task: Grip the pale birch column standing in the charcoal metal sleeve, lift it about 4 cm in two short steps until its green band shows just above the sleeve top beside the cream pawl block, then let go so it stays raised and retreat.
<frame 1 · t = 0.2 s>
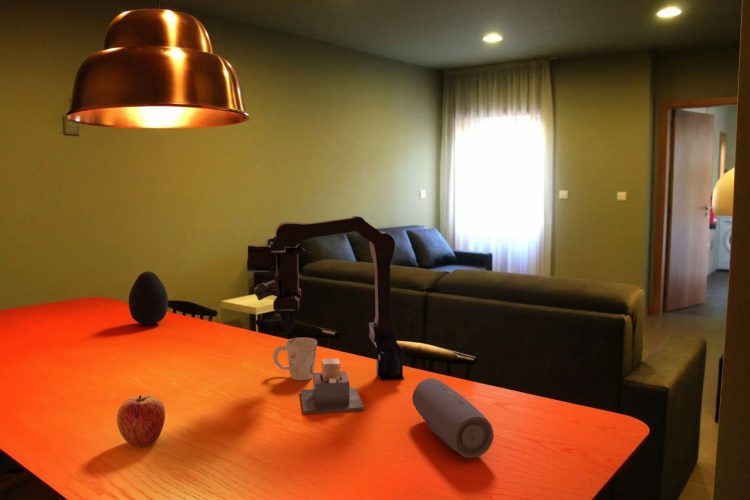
hand: (288, 329, 154), 14 cm above the table, fingers open, 9 cm apart
bluetooth speaker: (449, 440, 122), on the table
stand base: (330, 401, 142), on the table
egg: (149, 325, 218), on the table
mug: (294, 377, 161), on the table
apple: (142, 444, 119), on the table
column: (330, 379, 142), point 6 cm above the table, slide at 0.0 cm
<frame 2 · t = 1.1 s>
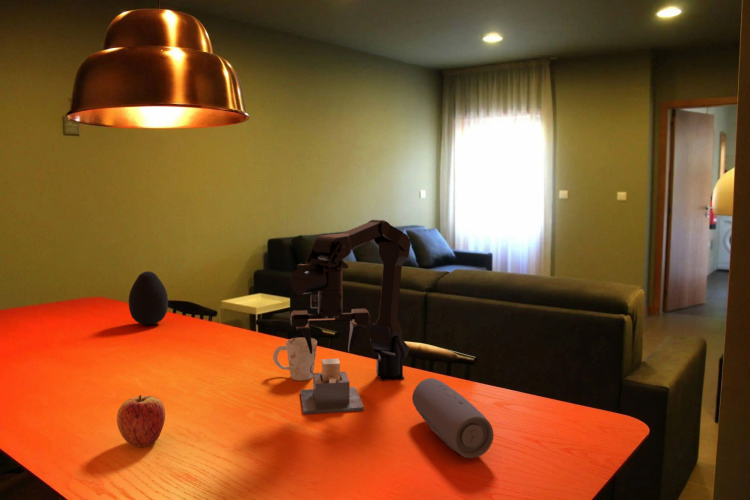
hand: (330, 352, 141), 12 cm above the table, fingers open, 9 cm apart
nothing on the table moved.
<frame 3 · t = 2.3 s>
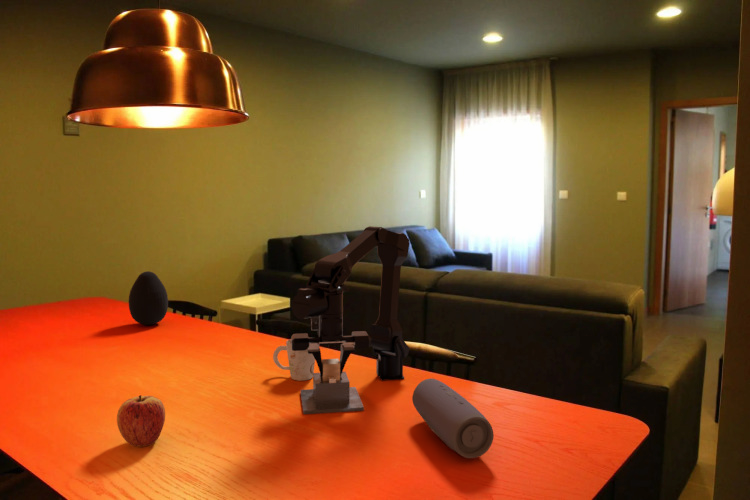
hand: (330, 375, 142), 7 cm above the table, fingers closed on column, 4 cm apart
column: (330, 379, 142), point 6 cm above the table, slide at 0.0 cm, touching gripper
everything else where it was.
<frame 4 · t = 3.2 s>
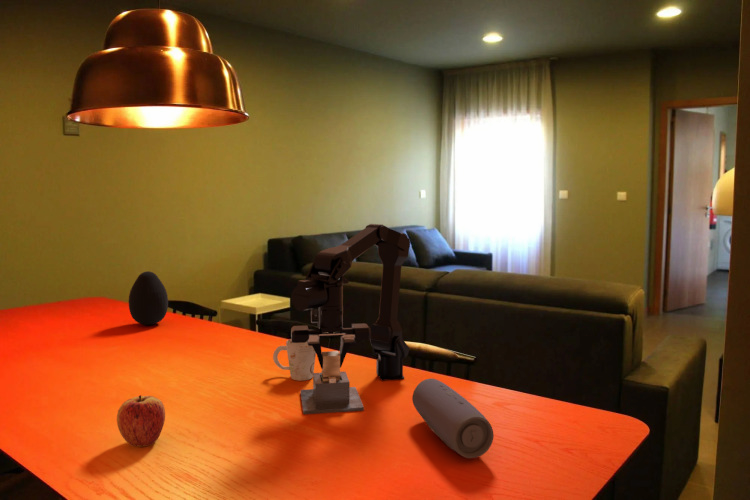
hand: (330, 367, 141), 8 cm above the table, fingers closed on column, 4 cm apart
column: (330, 371, 142), point 7 cm above the table, slide at 1.9 cm, touching gripper
everything else where it was.
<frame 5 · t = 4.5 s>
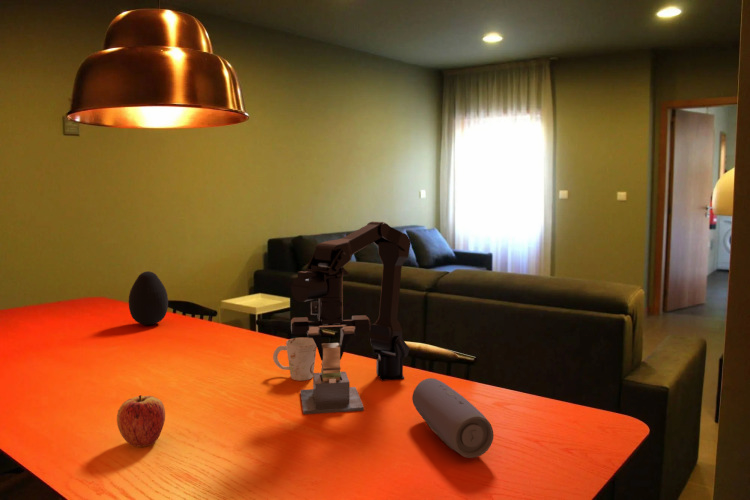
hand: (330, 359, 141), 10 cm above the table, fingers closed on column, 4 cm apart
column: (330, 363, 141), point 10 cm above the table, slide at 3.9 cm, touching gripper
everything else where it was.
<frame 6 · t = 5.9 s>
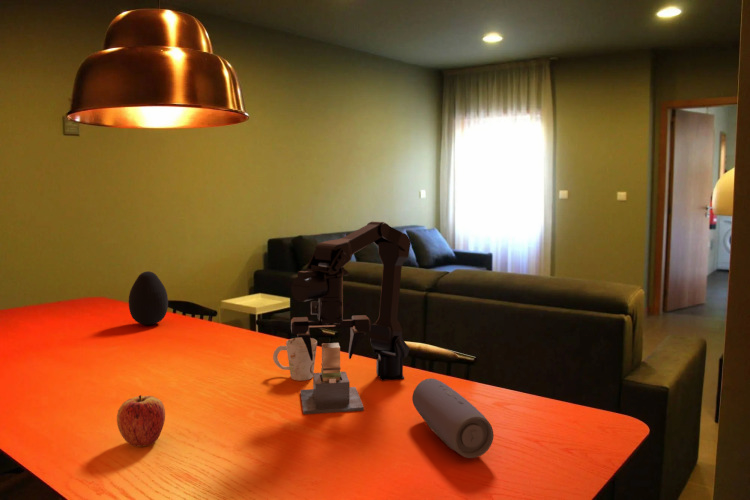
hand: (330, 359, 141), 10 cm above the table, fingers open, 9 cm apart
column: (330, 363, 141), point 10 cm above the table, slide at 3.9 cm
everything else where it was.
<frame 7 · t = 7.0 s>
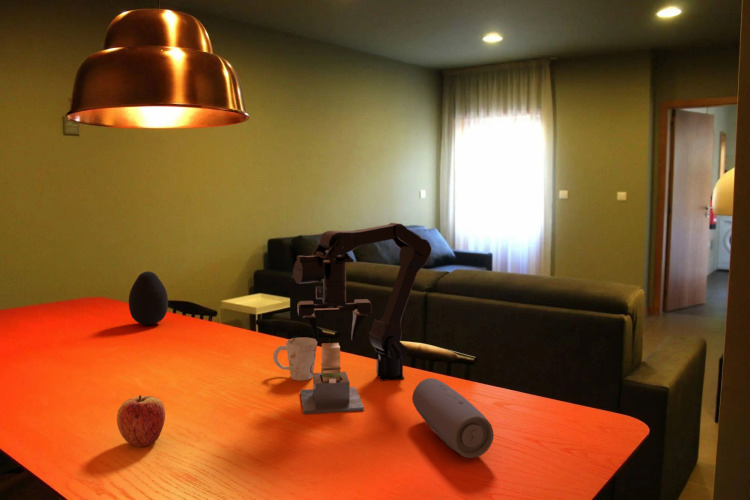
hand: (334, 340, 151), 12 cm above the table, fingers open, 9 cm apart
nothing on the table moved.
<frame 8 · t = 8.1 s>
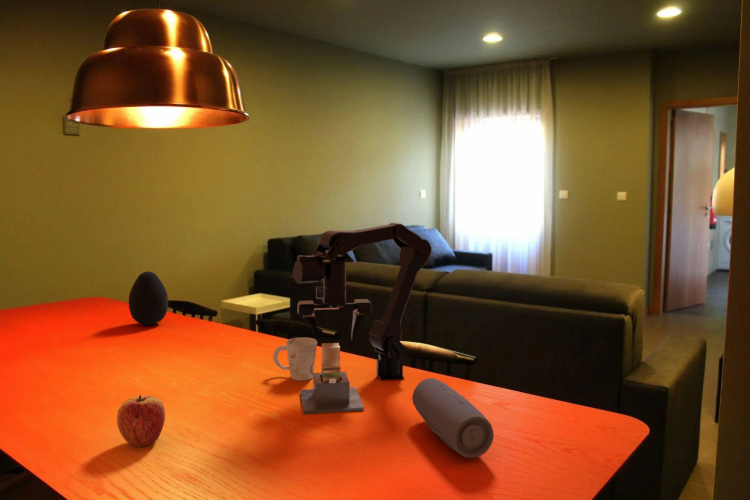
hand: (334, 340, 151), 13 cm above the table, fingers open, 9 cm apart
nothing on the table moved.
at the end: column slide at 3.9 cm; the gripper is holding nothing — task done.
